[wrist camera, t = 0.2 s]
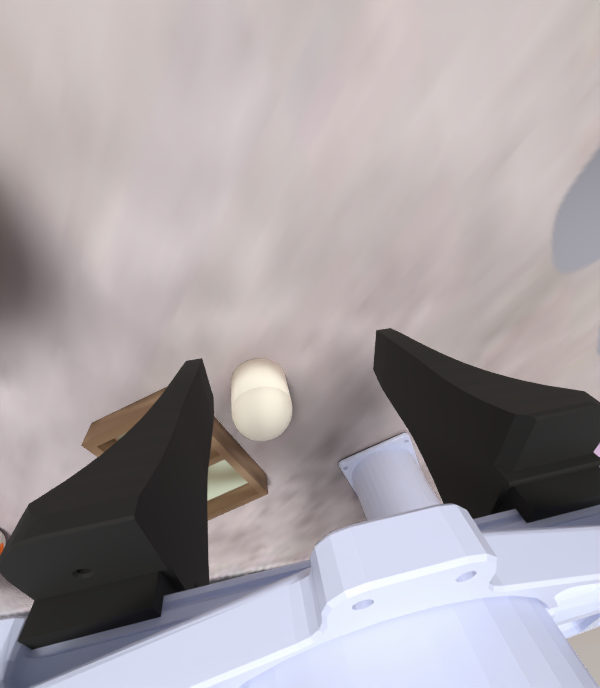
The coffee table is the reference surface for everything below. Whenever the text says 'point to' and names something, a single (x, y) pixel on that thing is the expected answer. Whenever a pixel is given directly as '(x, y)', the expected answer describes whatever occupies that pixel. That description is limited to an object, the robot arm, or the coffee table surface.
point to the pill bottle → (2, 542)
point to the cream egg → (260, 399)
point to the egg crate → (224, 464)
